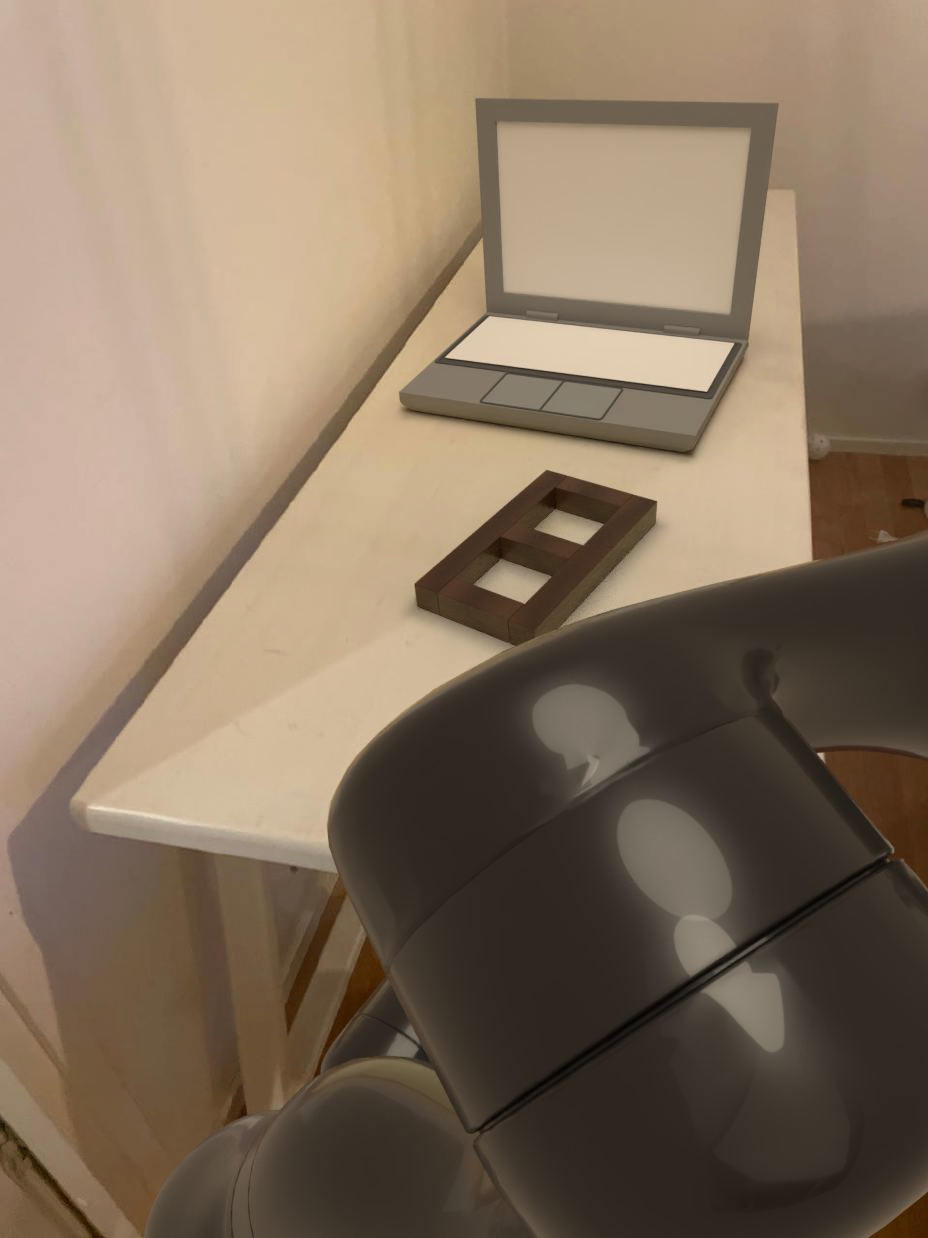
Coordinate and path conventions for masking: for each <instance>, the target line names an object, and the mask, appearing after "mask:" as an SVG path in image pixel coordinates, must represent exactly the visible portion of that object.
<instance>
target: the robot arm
mask: <svg viewBox="0 0 928 1238" xmlns="http://www.w3.org/2000/svg"><path fill="white" fill-rule="evenodd" d="M834 752H867V753H881V754H887V755H895V756H901V757H906V758H912V759H917V760H922V761H928V528H926V529H924V530H921V531H918V532H916V533H915V532H914V533H912V534H910V535H906V536H903V537H900V538H897V539H894V540H890V541H888V542H885V543H881V544H880V543H879V544H876V545H872V546H867V547H864V548H861V549H857V550H853V551H848V552H845V553H840V554H837V555H832V556H828V557H823V558H819V559H815V560H811V561H805V562H802V563H798V564H794V565H789V566H785V567H781V568H776V569H773V570H768V571H765V572H760V573H756V574H751V575H747V576H746V575H745V576H742V577H737V578H733V579H728V580H723V581H718V582H714V583H710V584H707V585H702V586H699V587H695V588H691V589H687V590H683V591H679V592H675V593H671V594H666V595H663V596H659V597H655V598H650V599H647V600H643V601H639V602H636V603H633V604H628V605H625V606H620V607H617V608H614V609H613V608H612V609H610V610H607V611H604V612H601V613H598V614H595V615H592V616H588V617H585V618H582V619H579V620H576V621H574V622H572V623H569V624H566V625H564V626H560V627H558V629H556V630H554V631H551V632H549V633H546V634H544V635H541V636H539V637H536V638H534V639H532V640H529V641H527V642H524V643H522V644H519V645H515V646H514V645H513V646H512V647H510V648H507V649H505V650H502V651H501V652H499V653H497V654H495V655H493V656H492V657H489V658H488V659H486V660H484V661H483V662H480V663H478V664H477V665H474V666H473V667H471V668H469V669H467V670H466V671H463V672H462V673H460V674H458V675H457V676H455V677H453V678H451V679H449V680H448V681H445V682H444V683H442V684H440V685H438V686H437V687H435V688H434V689H432V690H431V691H429V692H428V693H426V694H425V695H424V696H423V697H421V698H420V699H418V700H417V701H415V702H414V703H413V704H411V705H410V706H408V707H406V709H404V710H403V711H402V712H400V713H399V714H398V715H397V716H396V717H395V718H394V719H393V720H391V721H390V722H389V723H388V724H387V725H386V726H384V727H383V728H382V729H381V730H380V731H379V732H377V734H375V736H374V737H373V738H371V739H370V741H369V742H368V743H367V744H366V745H365V746H364V747H363V748H362V749H361V750H360V751H359V752H358V753H357V754H356V755H355V756H354V758H353V759H352V761H351V762H350V763H349V765H348V766H347V768H346V770H345V772H344V773H343V776H342V777H341V779H340V781H339V782H338V785H337V786H336V788H335V790H334V793H333V795H332V797H331V800H330V802H329V807H328V812H327V820H326V832H327V842H328V848H329V851H330V853H331V857H332V860H333V862H334V866H335V869H336V871H337V874H338V878H339V880H340V882H341V885H342V886H343V888H344V891H345V892H346V894H347V897H348V899H349V901H350V903H351V905H352V907H353V909H354V911H355V913H356V916H357V917H358V920H359V922H360V924H361V926H362V928H363V930H364V932H365V934H366V936H367V938H368V941H369V943H370V944H371V945H370V946H371V947H372V949H373V952H374V953H375V954H376V958H377V960H378V961H379V964H380V966H381V968H382V970H383V972H384V975H385V977H383V979H382V980H381V981H380V982H379V984H378V985H377V986H376V988H375V989H374V990H373V991H372V992H371V994H370V995H369V996H368V998H367V999H366V1000H365V1001H364V1002H363V1004H362V1005H361V1006H360V1007H359V1009H358V1010H357V1011H356V1012H355V1014H354V1015H353V1017H351V1019H350V1020H349V1021H348V1022H347V1024H346V1025H345V1027H344V1028H343V1029H342V1030H341V1031H340V1033H339V1034H338V1035H337V1037H336V1038H335V1039H334V1041H333V1042H332V1043H331V1045H330V1046H329V1048H328V1049H327V1051H326V1053H325V1054H324V1057H323V1059H322V1061H321V1065H320V1073H319V1074H318V1075H317V1076H315V1077H314V1078H312V1079H311V1080H309V1081H308V1082H306V1083H305V1084H304V1085H303V1086H302V1087H300V1088H299V1090H297V1091H296V1093H294V1094H293V1095H292V1096H291V1097H290V1099H288V1101H287V1102H286V1103H284V1105H283V1106H281V1108H280V1109H268V1110H262V1111H258V1112H254V1113H250V1114H247V1115H244V1116H241V1117H239V1118H237V1119H234V1120H233V1121H231V1122H229V1123H227V1124H226V1125H223V1126H222V1127H220V1128H218V1129H217V1130H215V1131H214V1132H213V1133H211V1134H210V1135H208V1136H207V1137H206V1138H204V1139H203V1140H202V1141H200V1142H199V1143H198V1144H197V1145H196V1146H195V1147H194V1148H192V1149H191V1151H189V1152H188V1153H187V1154H186V1155H185V1156H184V1157H183V1159H182V1160H181V1161H180V1162H179V1163H178V1164H177V1165H176V1167H175V1168H174V1169H173V1170H172V1171H171V1172H170V1174H169V1175H168V1177H167V1178H166V1180H165V1181H164V1183H163V1184H162V1186H161V1188H160V1190H159V1191H158V1193H157V1195H156V1198H154V1200H153V1203H152V1206H151V1208H150V1211H149V1214H148V1216H147V1221H146V1223H145V1229H144V1234H143V1238H869V1237H871V1236H872V1235H874V1234H876V1233H877V1232H879V1231H880V1230H881V1229H883V1228H884V1227H886V1226H887V1225H889V1223H891V1222H892V1221H894V1220H895V1219H896V1218H898V1217H899V1216H900V1215H901V1214H902V1213H903V1212H905V1211H906V1210H907V1209H909V1207H911V1206H912V1205H914V1204H915V1203H916V1202H917V1201H918V1200H920V1199H921V1198H922V1197H924V1196H925V1195H926V1194H927V1193H928V887H927V886H926V884H924V882H923V881H922V880H921V878H920V877H919V876H918V875H917V873H916V872H914V870H913V869H912V868H911V867H910V866H909V865H908V864H907V863H906V861H905V859H904V858H903V857H896V858H893V859H891V860H890V858H889V857H891V856H892V855H893V854H894V853H895V847H894V846H893V845H892V844H891V842H890V841H889V840H888V838H887V837H886V836H885V835H884V834H883V832H882V831H881V830H880V828H878V826H877V825H876V824H875V823H874V821H873V820H872V819H871V818H870V816H869V815H868V814H867V813H866V812H865V810H864V809H863V808H862V807H861V806H860V804H859V803H858V802H857V800H856V799H855V798H854V797H853V796H852V794H851V793H850V792H849V791H848V790H847V788H846V787H845V786H844V785H843V783H842V782H841V781H840V780H839V779H838V777H837V776H836V775H835V774H834V772H833V771H832V770H831V769H830V767H829V766H828V765H827V764H826V762H825V761H824V760H823V759H822V757H820V755H819V754H822V753H823V754H824V753H834Z"/></svg>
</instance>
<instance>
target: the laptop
mask: <svg viewBox="0 0 928 1238" xmlns="http://www.w3.org/2000/svg"><path fill="white" fill-rule="evenodd" d="M474 102H475V122H476V140H477V157H478V159H477V160H478V177H479V198H480V214H481V232H482V248H483V249H482V252H483V269H484V271H483V272H484V285H485V286H484V288H485V289H484V292H485V307H486V312H485V313H484V314H483V315H482V316H480V317H479V318H478V319H477V320H476V321H475V322H474V323H473V324H471V326H470V327H468V328H467V329H465V331H464V332H463V333H462V334H461V335H460V336H458V337H457V338H456V339H455V340H454V341H453V342H452V343H451V344H450V345H448V346H447V348H445V349H444V350H443V351H442V352H441V353H440V354H439V355H437V356H436V357H435V358H434V360H432V361H431V362H430V363H429V364H428V365H427V366H426V367H424V368H423V369H422V370H421V371H420V372H419V373H418V374H417V375H416V376H414V377H413V378H412V379H411V380H410V381H409V382H408V383H407V384H405V386H404V387H403V388H402V389H400V390H399V391H398V395H399V396H398V397H399V403H401V405H402V406H404V407H405V408H408V409H410V410H412V411H414V412H419V413H427V414H432V415H440V416H445V417H446V416H447V417H451V418H452V417H453V418H459V419H465V420H472V421H477V422H484V423H491V424H498V425H504V426H510V427H516V428H523V429H529V430H536V431H543V432H549V433H556V434H562V435H567V436H568V435H569V436H575V437H582V438H588V439H593V440H599V441H600V440H601V441H607V442H612V443H613V442H614V443H619V444H627V445H634V446H640V447H645V448H651V449H660V450H665V451H671V452H678V453H685V452H688V451H691V450H694V448H695V446H696V444H697V442H698V441H699V439H700V437H701V436H702V434H703V431H704V429H706V426H707V424H708V423H709V420H710V419H711V417H712V415H713V413H714V411H715V409H716V408H717V405H718V404H719V402H720V400H721V398H722V396H723V395H724V393H725V391H726V389H727V387H728V386H729V384H730V381H731V379H732V378H733V376H734V374H735V373H736V370H737V369H738V367H739V365H740V363H741V362H742V360H743V358H744V355H745V354H746V352H747V350H748V348H749V344H750V343H749V338H750V330H751V323H752V316H753V306H754V298H755V292H756V286H757V285H756V284H757V276H758V270H759V269H758V268H759V259H760V252H761V245H762V237H763V230H764V221H765V213H766V206H767V198H768V191H769V190H768V189H769V183H770V176H771V175H770V174H771V168H772V167H771V165H772V160H773V159H772V158H773V152H774V143H775V135H776V127H777V120H778V119H777V118H778V111H779V105H780V103H779V102H760V101H759V102H757V101H754V102H752V101H749V102H748V101H747V102H746V101H698V100H697V101H695V100H693V101H688V100H633V99H632V100H631V99H629V100H627V99H625V100H624V99H572V98H571V99H568V98H564V99H563V98H511V97H509V98H508V97H507V98H506V97H505V98H504V97H475V98H474Z"/></svg>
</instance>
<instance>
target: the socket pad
mask: <svg viewBox="0 0 928 1238" xmlns="http://www.w3.org/2000/svg"><path fill="white" fill-rule="evenodd" d="M554 510H559V511H562V512H565V513H569V514H572V515H576V516H578V517H582V518H584V519H587V520H588V519H589V520H591V521H595V522H597V523H602V524H603V525H602V526H601V527H600V528H599V529H597V531H596V532H595V533H594V534H593V535H591V537H590V538H589V539H587V541H586V542H585V543H583V544H581V543H579V542H575V541H572V540H568V539H565V538H563V537H559V536H557V535H553V534H550V533H547V532H544V531H541V530H538V529H535V527H537V526H538V525H539V524H540V523H541V522H542V521H544V519H546V518H547V517H548V515H550V514H551V513H552V512H553V511H554ZM657 511H658V501H657V500H655V499H652V498H648V497H644V496H641V495H637V494H633V493H630V492H627V491H623V490H619V489H617V488H613V487H609V486H606V485H602V484H599V483H595V482H592V481H588V480H585V479H581V478H577V477H574V476H570V475H567V474H563V473H560V472H556V471H554V470H549V469H545V471H543V472H542V473H541V474H540V475H538V476H537V477H536V478H535V479H534V480H532V481H531V482H530V483H529V484H528V485H527V486H526V487H525V488H523V489H522V490H521V491H519V492H518V494H517V495H515V496H514V497H513V498H512V499H510V501H508V502H507V503H506V504H504V506H503V507H501V508H500V509H499V510H498V511H496V513H494V514H493V515H492V516H491V517H490V518H488V520H486V521H485V522H484V523H483V524H482V525H480V526H479V527H478V528H477V529H476V530H475V531H473V532H472V533H471V534H470V535H469V536H468V537H467V538H465V539H464V540H463V541H462V542H461V543H460V544H458V545H457V546H456V547H455V548H454V549H452V550H451V551H450V552H449V553H448V554H447V555H446V556H445V557H443V558H442V559H441V560H440V561H439V562H437V563H436V564H435V565H434V566H433V567H432V568H430V570H428V571H427V572H426V573H425V574H424V575H422V576H421V577H420V578H418V580H417V581H415V582H414V585H413V586H414V594H415V602H416V606H417V607H419V608H421V609H423V610H426V611H429V612H431V613H434V614H436V615H439V616H442V617H443V618H445V619H448V620H451V621H454V622H456V623H459V624H461V625H464V626H466V627H468V628H472V629H474V630H476V631H479V632H482V633H484V634H486V635H489V636H491V637H494V638H497V639H499V640H500V641H501V640H502V641H505V642H506V643H510V644H512V645H513V646H514V645H515V646H517V645H519V644H522V643H524V642H527V641H529V640H532V639H534V638H536V637H539V636H541V635H544V634H546V633H549V632H551V631H554V630H556V629H559V628H560V627H561V626H562V624H563V623H564V622H565V621H566V620H567V619H568V618H569V617H571V615H572V614H573V613H574V612H575V610H576V609H578V608H579V606H580V605H581V604H582V603H583V602H584V601H585V600H586V598H587V597H589V595H590V594H591V593H592V592H593V591H594V590H595V589H596V588H597V587H598V586H599V585H600V584H601V583H602V581H604V580H605V578H606V577H607V576H608V575H610V573H611V572H612V570H614V568H616V566H617V565H619V563H620V562H621V561H622V560H623V559H624V558H625V557H626V556H627V554H628V553H630V552H631V550H632V549H633V548H635V546H636V545H637V544H638V543H639V542H640V541H641V540H642V538H644V536H645V535H646V534H647V533H649V531H650V530H651V529H652V528H653V527H654V526H655V525H656V523H657ZM502 559H503V560H506V561H508V562H512V563H514V564H517V565H520V566H522V567H526V568H528V569H531V570H535V571H538V572H540V573H543V574H546V575H549V576H551V577H550V578H549V579H548V580H546V582H545V583H544V584H542V586H541V587H540V588H539V589H538V590H537V591H536V592H535V593H534V594H533V595H532V596H530V597H529V599H528V600H527V601H526V602H525V603H524V602H521V601H518V600H516V599H513V598H511V597H508V596H505V595H502V594H499V593H497V592H495V591H491V590H489V589H487V588H484V587H481V586H479V585H475V583H476V582H477V581H478V580H479V579H480V578H481V577H482V576H484V575H485V574H486V573H487V572H488V571H489V570H490V569H492V567H493V566H494V565H495V564H496V563H497V562H499V561H500V560H502Z"/></svg>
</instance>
